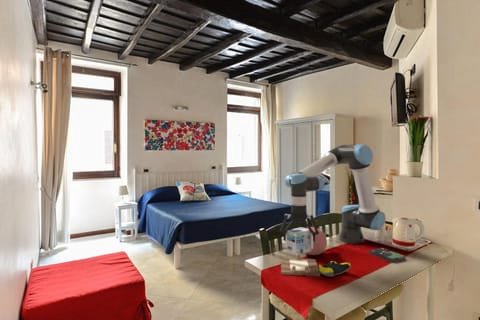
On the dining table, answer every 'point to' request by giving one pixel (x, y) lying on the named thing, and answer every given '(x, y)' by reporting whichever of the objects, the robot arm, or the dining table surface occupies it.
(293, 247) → the light bulb box
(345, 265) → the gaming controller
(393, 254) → the disk drive
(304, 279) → the dining table surface
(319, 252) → the balloon
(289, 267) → the pin board
